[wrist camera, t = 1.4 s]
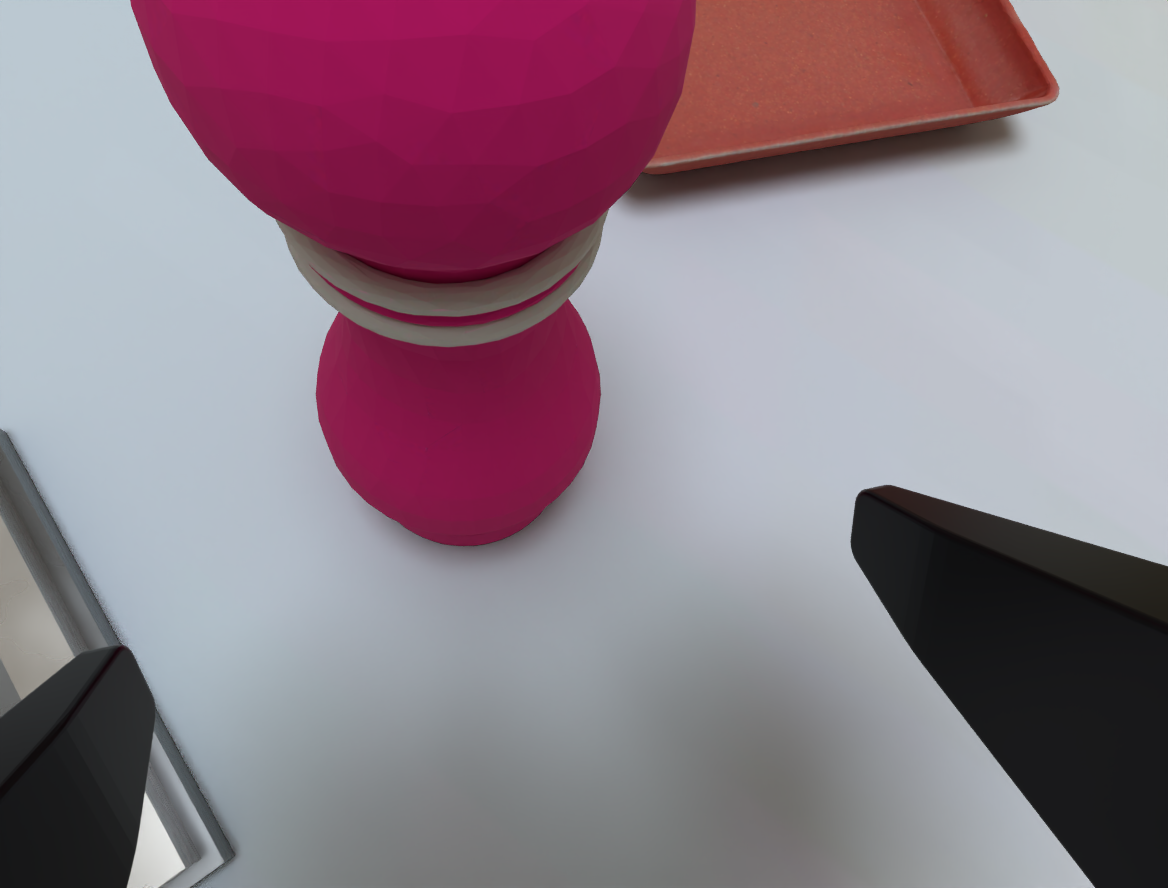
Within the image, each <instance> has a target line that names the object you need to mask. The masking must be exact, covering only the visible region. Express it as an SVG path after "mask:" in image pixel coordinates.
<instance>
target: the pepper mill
mask: <svg viewBox="0 0 1168 888" xmlns="http://www.w3.org/2000/svg"><path fill="white" fill-rule="evenodd" d="M130 1H131V7H132V10H133V12H134V15H135V18H136V20H137V23H138V26H139V29H140V31H141V34H142V37H143V40H144V42H145V45H146V48H147V50H148V53H149V56H150V59H151V61H152V64H153V67H154V69H155V71H156V73H157V76H158V78H159V80H160V82H161V84H162V86H163V88H164V90H165V92H166V94H167V96H168V99H169V101H170V103H171V105H172V106H173V108H174V109H175V111H176V112H177V114H178V115H179V117H180V118H181V119H182V121H183V122H184V124H185V125H186V127H187V128H188V130H189V131H190V133H191V134H192V136H193V137H194V139H195V140H196V142H197V143H198V145H199V146H200V148H201V149H202V151H203V152H204V154H205V155H206V157H207V158H208V160H209V161H210V162H211V163H212V164H213V165H214V166H215V167H216V168H217V169H218V170H219V171H220V172H221V173H222V174H223V175H224V176H225V177H226V178H227V179H228V180H229V181H230V182H231V183H232V184H233V185H234V186H235V187H236V188H237V189H238V190H239V191H240V192H241V193H242V194H243V195H244V196H245V197H246V198H247V199H248V200H249V201H251V202H252V203H253V204H254V205H256V206H257V207H258V208H260V209H261V210H262V211H263V212H265V213H266V214H267V215H269V216H271V217H273V218H275V219H276V222H277V224H278V225H279V227H280V229H281V230H282V232H283V233H284V235H285V238H286V242H287V245H288V248H289V251H290V253H291V255H292V257H293V259H294V261H295V263H296V265H297V267H298V269H299V271H300V272H301V273H302V275H303V276H304V277H305V279H306V280H307V281H308V282H309V284H310V285H311V286H312V288H313V289H314V290H315V291H316V292H317V293H318V294H319V295H320V296H321V297H322V298H323V299H324V300H325V301H326V302H327V303H328V304H329V305H331V306H332V307H334V308H335V309H336V310H338V311H339V312H338V314H337V316H336V318H335V320H334V322H333V324H332V326H331V328H330V329H329V331H328V333H327V336H326V339H325V342H324V346H323V349H322V353H321V356H320V361H319V368H318V374H317V387H316V400H317V409H318V417H319V422H320V425H321V428H322V431H323V433H324V436H325V439H326V442H327V444H328V447H329V449H330V452H331V454H332V456H333V459H334V461H335V463H336V466H337V467H338V469H339V470H340V472H341V473H342V474H343V476H344V477H345V479H346V480H347V481H348V483H349V484H350V486H351V487H352V488H353V489H354V490H355V491H356V492H357V493H358V494H359V495H360V496H361V497H362V498H363V499H364V500H365V501H366V502H367V503H369V504H370V505H371V506H373V507H374V508H376V509H377V510H379V511H380V512H382V513H383V514H385V515H386V516H388V517H390V518H392V519H393V520H396V521H398V522H399V523H400V524H402V525H403V526H404V527H405V528H407V529H408V530H410V531H412V532H414V533H415V534H417V535H419V536H421V537H424V538H426V539H429V540H431V541H435V542H438V543H442V544H447V545H456V546H474V545H482V544H487V543H491V542H495V541H498V540H501V539H503V538H506V537H508V536H511V535H512V534H514V533H516V532H518V531H520V530H521V529H523V528H524V527H525V526H527V525H528V524H530V523H531V522H532V521H533V520H534V519H535V518H536V517H537V516H538V515H540V513H541V512H542V511H543V510H544V508H545V507H546V506H548V505H549V504H550V503H552V502H553V501H554V500H555V499H556V498H557V497H558V496H559V495H560V494H561V493H562V492H563V491H564V490H565V489H566V488H567V487H568V486H569V485H570V484H571V482H572V481H573V479H574V478H575V477H576V475H577V474H578V472H579V471H580V469H581V468H582V466H583V464H584V462H585V460H586V458H587V455H588V453H589V451H590V449H591V446H592V442H593V439H594V435H595V431H596V427H597V421H598V414H599V405H600V396H601V390H600V374H599V370H598V366H597V362H596V358H595V354H594V350H593V346H592V342H591V339H590V336H589V334H588V331H587V329H586V326H585V325H584V323H583V321H582V319H581V317H580V315H579V314H578V312H577V311H576V309H575V308H574V306H573V305H572V304H571V302H570V301H569V299H568V298H569V297H570V296H571V295H572V294H573V293H574V292H575V291H576V290H577V289H578V287H579V286H580V285H581V283H582V282H583V280H584V278H585V277H586V275H587V274H588V272H589V270H590V269H591V267H592V264H593V262H594V260H595V257H596V254H597V251H598V249H599V246H600V242H601V236H602V231H603V225H604V222H605V219H606V216H607V213H608V210H609V208H610V207H611V206H612V205H613V204H614V203H615V202H616V201H617V200H618V199H619V198H620V197H621V196H622V195H623V194H624V193H625V192H626V191H627V190H628V189H629V188H630V187H631V186H632V184H633V183H634V182H635V180H636V179H637V178H638V176H639V175H640V174H641V172H642V171H643V170H644V168H645V167H646V166H647V164H648V163H649V162H650V160H651V159H652V158H653V156H654V155H655V152H656V150H657V148H658V146H659V143H660V141H661V139H662V137H663V134H664V132H665V130H666V128H667V126H668V123H669V121H670V119H671V117H672V114H673V112H674V110H675V108H676V105H677V103H678V101H679V99H680V96H681V94H682V90H683V85H684V79H685V74H686V69H687V64H688V59H689V54H690V48H691V43H692V38H693V33H694V28H695V18H696V0H130Z"/></svg>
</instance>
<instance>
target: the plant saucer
mask: <svg viewBox="0 0 1168 888" xmlns="http://www.w3.org/2000/svg"><path fill="white" fill-rule="evenodd" d="M1058 95H1059V86H1058V84H1057V81H1056V79H1055V78H1054V76H1053V75H1052V73H1051V72H1050V70H1049V68H1048V66H1047V64H1046V62H1045V61H1044V60H1043V58H1042V56H1041V55H1040V53H1039V51H1038V50H1037V48H1036V46H1035V44H1034V42H1033V40H1032V38H1031V37H1030V35H1029V33H1028V31H1027V30H1026V28H1025V27H1024V26H1023V24H1022V22H1021V21H1020V19H1019V17H1018V16H1017V14H1016V12H1015V10H1014V7H1013V6H1012V5H1011V3H1010V2H1009V0H696V18H695V28H694V33H693V38H692V43H691V48H690V54H689V59H688V64H687V69H686V74H685V79H684V85H683V90H682V94H681V96H680V99H679V101H678V103H677V105H676V108H675V110H674V112H673V114H672V117H671V119H670V121H669V123H668V126H667V128H666V130H665V132H664V134H663V137H662V139H661V141H660V143H659V146H658V148H657V150H656V152H655V155H654V156H653V158H652V159H651V160H650V162H649V163H648V164H647V166H646V167H645V168H644V170H643V171H642V172H644V173H647V174H655V175H656V174H667V173H674V172H680V171H686V170H692V169H698V168H704V167H710V166H716V165H723V164H728V163H734V162H740V161H746V160H752V159H758V158H764V157H770V156H776V155H782V154H788V153H794V152H799V151H806V150H813V149H819V148H825V147H831V146H837V145H843V144H849V143H856V142H863V141H867V140H874V139H880V138H887V137H893V136H898V135H905V134H910V133H917V132H924V131H930V130H936V129H942V128H947V127H954V126H960V125H965V124H971V123H976V122H981V121H987V120H992V119H997V118H1001V117H1006V116H1010V115H1014V114H1018V113H1022V112H1025V111H1029V110H1032V109H1035V108H1038V107H1042V106H1045V105H1048V104H1050V103H1052V102H1054V101H1055V100H1056V99H1057V97H1058Z"/></svg>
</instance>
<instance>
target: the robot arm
mask: <svg viewBox="0 0 1168 888" xmlns="http://www.w3.org/2000/svg"><path fill="white" fill-rule="evenodd" d="M851 549H852V553H853V556H854V558H855V560H856V562H857V563H858V565H859V567H860V568H861V570H862V571H863V573H864V575H865V576H866V578H867V579H868V581H869V583H870V584H871V586H872V587H873V589H874V591H875V592H876V594H877V595H878V597H879V599H880V600H881V602H882V604H883V605H884V607H885V608H886V610H887V612H888V613H889V615H890V616H891V618H892V620H893V621H894V623H895V624H896V626H897V628H898V629H899V631H900V632H901V634H902V636H903V637H904V639H905V640H906V642H907V643H908V645H909V646H910V648H911V649H912V651H913V652H914V653H915V655H916V656H917V657H918V659H919V660H920V662H921V663H922V664H923V666H924V667H925V668H926V670H927V671H928V672H929V673H930V675H931V676H932V677H933V679H934V680H935V681H936V682H937V684H938V685H939V686H940V688H941V689H942V690H943V691H944V693H945V694H946V695H947V697H948V698H949V699H950V701H951V702H952V703H953V704H954V706H955V707H956V708H957V710H958V711H959V712H960V713H961V715H962V716H963V717H964V719H965V720H966V721H967V723H968V724H969V725H970V726H971V728H972V729H973V730H974V732H975V733H976V734H977V735H978V737H979V738H980V739H981V741H982V742H983V743H984V745H985V746H986V747H987V748H988V750H989V751H990V752H991V754H992V755H993V756H994V757H995V759H996V760H997V761H998V763H999V764H1000V765H1001V766H1002V768H1003V769H1004V770H1005V772H1006V773H1007V774H1008V776H1009V777H1010V778H1011V779H1012V781H1013V782H1014V783H1015V785H1016V786H1017V787H1018V788H1019V790H1020V791H1021V792H1022V794H1023V795H1024V796H1025V798H1026V799H1027V800H1028V801H1029V803H1030V804H1031V805H1032V807H1033V808H1034V809H1035V810H1036V812H1037V813H1038V814H1039V816H1040V817H1041V818H1042V820H1043V821H1044V822H1045V823H1046V825H1047V826H1048V827H1049V829H1050V830H1051V831H1052V832H1053V834H1054V835H1055V836H1056V838H1057V839H1058V840H1059V842H1060V843H1061V844H1062V845H1063V847H1064V848H1065V849H1066V851H1067V852H1068V853H1069V854H1070V856H1071V857H1072V858H1073V860H1074V861H1075V862H1076V863H1077V865H1078V866H1079V867H1080V869H1081V870H1082V871H1083V873H1084V874H1085V875H1086V876H1087V878H1088V879H1089V880H1090V882H1091V883H1092V884H1093V885H1094V887H1095V888H1168V566H1165V565H1162V564H1158V563H1155V562H1151V561H1148V560H1145V559H1141V558H1138V557H1134V556H1131V555H1127V554H1124V553H1121V552H1117V551H1114V550H1110V549H1107V548H1104V547H1100V546H1097V545H1093V544H1090V543H1087V542H1083V541H1080V540H1076V539H1073V538H1070V537H1066V536H1063V535H1059V534H1056V533H1053V532H1049V531H1046V530H1042V529H1039V528H1036V527H1032V526H1029V525H1025V524H1022V523H1019V522H1015V521H1012V520H1008V519H1005V518H1002V517H998V516H995V515H991V514H988V513H985V512H981V511H978V510H974V509H971V508H968V507H964V506H961V505H957V504H954V503H951V502H947V501H944V500H940V499H937V498H934V497H930V496H927V495H923V494H920V493H917V492H913V491H910V490H906V489H903V488H900V487H896V486H892V485H883V486H878V487H873V488H869V489H864V490H862V491H861V492H860V493H859V494H858V495H857V497H856V501H855V509H854V517H853V525H852V533H851ZM155 718H156V708H155V702H154V698H153V695H152V693H151V691H150V689H149V687H148V685H147V683H146V680H145V678H144V676H143V674H142V672H141V670H140V668H139V666H138V664H137V661H136V659H135V657H134V655H133V653H132V652H131V650H130V649H129V648H128V647H127V646H124V645H121V644H116V645H112V646H107V647H102V648H97V649H92V650H88V651H84V652H82V653H80V654H79V655H77V656H76V657H75V658H73V659H72V660H71V661H70V662H68V663H67V664H66V665H65V666H63V667H62V668H61V669H60V670H58V671H57V672H56V673H55V674H53V675H52V676H51V677H50V678H49V679H47V680H46V681H45V682H44V683H42V684H41V685H40V686H39V687H37V688H36V689H35V690H34V691H32V692H31V693H30V694H29V695H27V696H26V697H25V698H24V699H22V700H21V701H20V702H19V703H17V704H16V705H15V706H14V707H12V708H11V709H10V710H9V711H7V712H6V713H5V714H4V715H2V716H1V717H0V888H127V885H128V881H129V877H130V873H131V869H132V865H133V861H134V856H135V852H136V847H137V841H138V835H139V830H140V823H141V816H142V809H143V802H144V795H145V788H146V781H147V774H148V768H149V761H150V754H151V747H152V740H153V733H154V726H155Z"/></svg>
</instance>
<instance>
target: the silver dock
mask: <svg viewBox="0 0 1168 888" xmlns="http://www.w3.org/2000/svg"><path fill="white" fill-rule="evenodd" d="M116 644H120V642H119V641H118V639H117V637H116V635H115V633H114V631H113V630H112V628H111V626H110V624H109V622H108V620H107V618H106V617H105V615H104V613H103V611H102V609H101V607H100V606H99V604H98V602H97V600H96V598H95V596H94V595H93V593H92V591H91V589H90V587H89V585H88V583H87V582H86V580H85V578H84V576H83V574H82V572H81V571H80V569H79V567H78V565H77V563H76V561H75V559H74V558H73V556H72V554H71V552H70V550H69V548H68V547H67V545H66V543H65V541H64V539H63V537H62V535H61V534H60V532H59V530H58V528H57V526H56V524H55V523H54V521H53V519H52V517H51V515H50V513H49V512H48V510H47V508H46V506H45V504H44V502H43V500H42V499H41V497H40V495H39V493H38V491H37V489H36V488H35V486H34V484H33V482H32V480H31V478H30V476H29V475H28V473H27V471H26V469H25V467H24V465H23V464H22V462H21V460H20V458H19V456H18V454H17V452H16V451H15V449H14V447H13V445H12V443H11V441H10V440H9V438H8V436H7V434H6V432H5V431H3V430H1V429H0V717H1V716H2V715H4V714H5V713H6V712H7V711H9V710H10V709H11V708H12V707H14V706H15V705H16V704H17V703H19V702H20V701H21V700H22V699H24V698H25V697H26V696H27V695H29V694H30V693H31V692H32V691H34V690H35V689H36V688H37V687H39V686H40V685H41V684H42V683H44V682H45V681H46V680H47V679H49V678H50V677H51V676H52V675H53V674H55V673H56V672H57V671H58V670H60V669H61V668H62V667H63V666H65V665H66V664H67V663H68V662H70V661H71V660H72V659H73V658H75V657H76V656H77V655H79V654H80V653H82V652H84V651H88V650H92V649H97V648H102V647H107V646H112V645H116ZM234 856H235V855H234V853H233V851H232V849H231V847H230V845H229V844H228V842H227V840H226V838H225V836H224V834H223V832H222V831H221V829H220V827H219V825H218V823H217V821H216V820H215V818H214V816H213V814H212V812H211V810H210V808H209V807H208V805H207V803H206V801H205V799H204V797H203V796H202V794H201V792H200V790H199V788H198V786H197V784H196V783H195V781H194V779H193V777H192V775H191V773H190V772H189V770H188V768H187V766H186V764H185V762H184V761H183V759H182V757H181V755H180V753H179V751H178V749H177V748H176V746H175V744H174V742H173V740H172V738H171V737H170V735H169V733H168V731H167V729H166V727H165V725H164V724H163V722H162V720H161V718H160V716H159V714H158V713H157V711H156V718H155V726H154V733H153V740H152V747H151V754H150V761H149V768H148V774H147V781H146V788H145V795H144V802H143V809H142V816H141V823H140V830H139V835H138V841H137V847H136V852H135V856H134V861H133V865H132V869H131V873H130V877H129V881H128V885H127V888H191V887H192V886H194V885H195V884H197V883H198V882H199V881H201V880H202V879H203V878H205V877H206V876H208V875H209V874H210V873H212V872H213V871H214V870H216V869H217V868H218V867H220V866H221V865H223V864H224V863H225V862H227V861H228V860H229V859H231V858H232V857H234Z"/></svg>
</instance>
